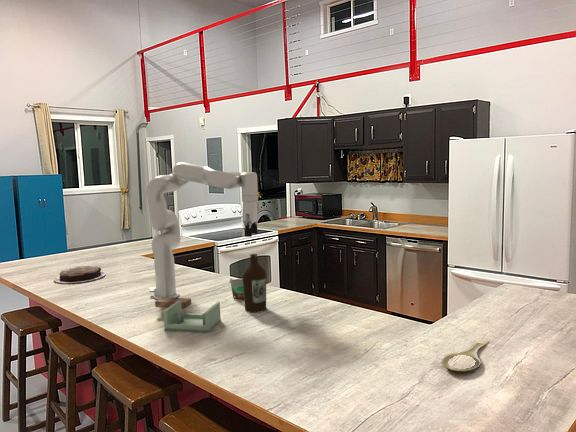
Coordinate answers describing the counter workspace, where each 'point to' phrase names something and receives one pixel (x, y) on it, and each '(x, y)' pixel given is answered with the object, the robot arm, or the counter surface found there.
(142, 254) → the counter surface
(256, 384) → the counter surface
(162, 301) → the board
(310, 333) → the counter surface
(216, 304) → the frame
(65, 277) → the chocolate cake
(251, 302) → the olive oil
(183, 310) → the tan rectangular bar
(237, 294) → the food container
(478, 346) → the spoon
